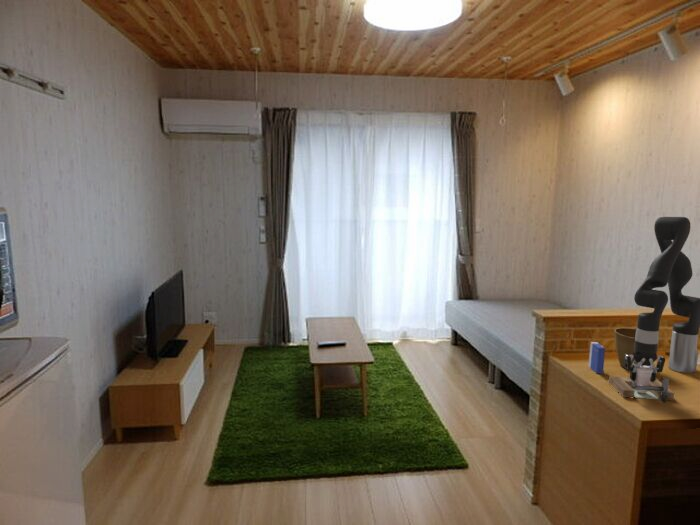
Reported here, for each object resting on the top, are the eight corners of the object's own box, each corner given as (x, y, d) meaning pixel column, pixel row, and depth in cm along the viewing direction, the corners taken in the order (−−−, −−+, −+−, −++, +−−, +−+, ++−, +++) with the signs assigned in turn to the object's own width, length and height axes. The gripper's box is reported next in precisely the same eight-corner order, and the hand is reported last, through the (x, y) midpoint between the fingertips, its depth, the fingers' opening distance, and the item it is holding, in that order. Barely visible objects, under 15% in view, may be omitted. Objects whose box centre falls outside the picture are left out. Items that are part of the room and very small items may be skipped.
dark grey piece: (664, 400, 173) (667, 377, 172) (667, 402, 171) (670, 380, 170) (629, 398, 175) (631, 376, 173) (631, 400, 173) (634, 378, 172)
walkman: (602, 373, 198) (605, 347, 196) (596, 373, 198) (598, 347, 196) (594, 366, 206) (596, 341, 204) (588, 366, 206) (590, 341, 204)
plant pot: (615, 370, 201) (618, 336, 198) (608, 359, 215) (611, 326, 212) (654, 375, 196) (658, 339, 194) (644, 362, 210) (647, 329, 207)
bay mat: (647, 389, 182) (647, 388, 182) (658, 399, 174) (658, 398, 174) (624, 388, 184) (624, 387, 183) (634, 397, 175) (634, 397, 175)
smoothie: (633, 385, 183) (636, 352, 181) (651, 390, 179) (655, 356, 177) (630, 391, 178) (633, 357, 176) (649, 396, 174) (653, 361, 172)
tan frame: (655, 385, 186) (656, 378, 185) (673, 400, 173) (674, 392, 173) (608, 383, 188) (609, 376, 188) (622, 397, 176) (623, 390, 175)
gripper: (661, 337, 178) (657, 378, 181) (622, 336, 180) (618, 376, 183) (672, 344, 171) (667, 386, 173) (631, 342, 173) (626, 384, 175)
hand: (642, 380), depth 178 cm, fingers closed on smoothie, 6 cm apart
